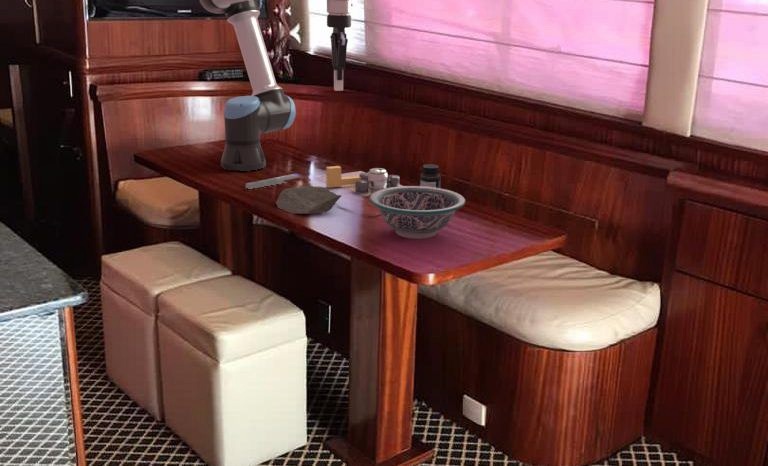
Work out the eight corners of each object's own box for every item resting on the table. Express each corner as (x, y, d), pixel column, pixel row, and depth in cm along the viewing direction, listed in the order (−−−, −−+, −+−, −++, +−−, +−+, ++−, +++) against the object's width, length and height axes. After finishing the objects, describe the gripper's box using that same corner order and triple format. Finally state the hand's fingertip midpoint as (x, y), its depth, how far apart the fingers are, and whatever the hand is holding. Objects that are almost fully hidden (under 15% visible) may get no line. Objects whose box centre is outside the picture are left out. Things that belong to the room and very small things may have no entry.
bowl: (424, 255, 207) (425, 217, 204) (349, 232, 222) (349, 197, 219) (482, 232, 225) (484, 198, 222) (409, 213, 241) (410, 181, 238)
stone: (263, 200, 245) (301, 176, 253) (266, 212, 247) (304, 189, 255) (306, 215, 232) (345, 190, 240) (310, 228, 234) (348, 203, 242)
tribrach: (317, 180, 274) (317, 158, 271) (360, 173, 283) (361, 152, 281) (364, 199, 254) (364, 175, 252) (408, 191, 264) (409, 168, 261)
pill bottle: (428, 198, 256) (430, 162, 253) (444, 202, 252) (445, 166, 249) (414, 201, 252) (416, 165, 249) (430, 206, 248) (431, 169, 245)
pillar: (245, 183, 261) (296, 173, 275) (245, 190, 262) (296, 179, 275) (249, 184, 260) (300, 174, 273) (250, 191, 260) (300, 181, 274)
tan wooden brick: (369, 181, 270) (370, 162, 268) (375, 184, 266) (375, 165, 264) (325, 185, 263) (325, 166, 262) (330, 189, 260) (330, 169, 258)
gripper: (356, 15, 258) (355, 93, 266) (345, 12, 270) (344, 87, 277) (332, 15, 256) (331, 93, 264) (322, 12, 268) (322, 87, 275)
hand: (338, 90), depth 270 cm, fingers closed
